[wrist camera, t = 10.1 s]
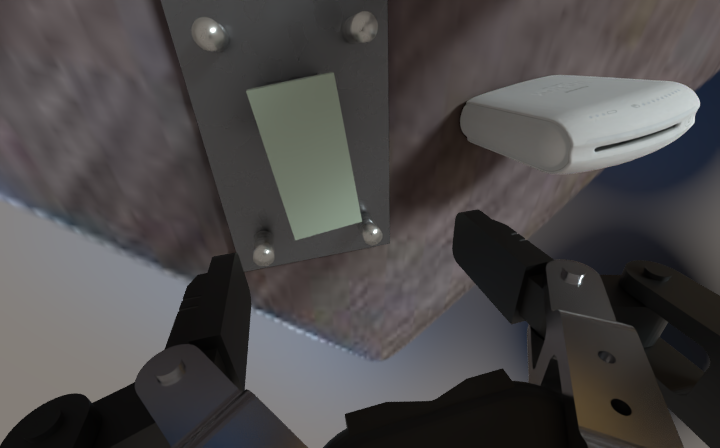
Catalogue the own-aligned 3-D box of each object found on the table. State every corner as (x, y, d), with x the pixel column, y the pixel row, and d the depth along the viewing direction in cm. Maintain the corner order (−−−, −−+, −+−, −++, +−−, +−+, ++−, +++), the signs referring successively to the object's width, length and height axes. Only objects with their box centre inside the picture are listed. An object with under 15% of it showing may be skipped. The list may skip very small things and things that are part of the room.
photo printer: (561, 68, 28) (739, 75, 17) (554, 116, 30) (709, 149, 20) (457, 96, 27) (581, 123, 16) (458, 144, 29) (569, 196, 18)
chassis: (382, -22, 21) (404, -37, 18) (386, 238, 32) (400, 260, 28) (158, -19, 18) (135, -35, 15) (242, 265, 29) (239, 293, 25)
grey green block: (322, 70, 21) (333, 72, 18) (349, 199, 26) (362, 221, 23) (249, 85, 20) (246, 91, 17) (291, 215, 26) (295, 240, 22)
